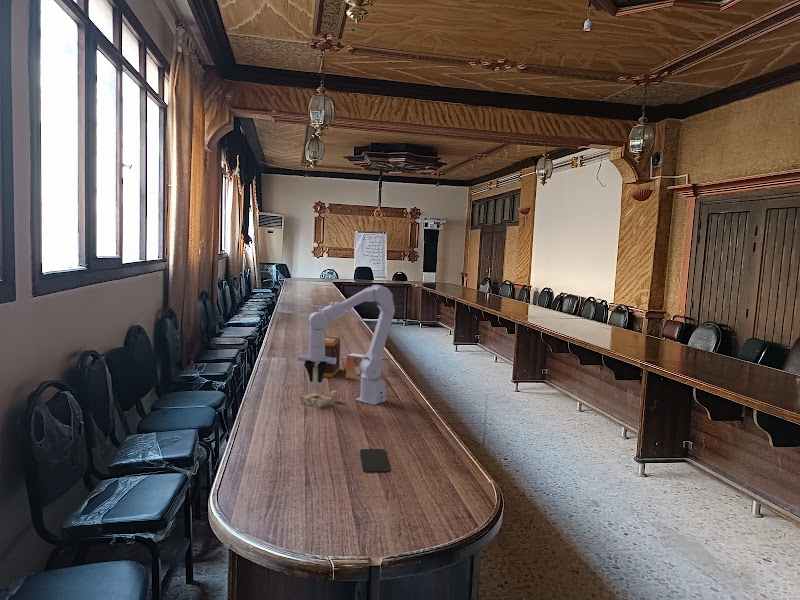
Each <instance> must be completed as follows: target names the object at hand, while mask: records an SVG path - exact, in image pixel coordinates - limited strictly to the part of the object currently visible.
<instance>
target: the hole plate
mask: <svg viewBox="0 0 800 600" xmlns="http://www.w3.org/2000/svg"><path fill="white" fill-rule="evenodd" d="M299 403H301V404H303V405H308V406H310V407H314V408H316V409H322V408H325V407H328V406H331V405H332V402H331V397H328V396H325V395H321V394H318V393H314V392H309V393H306V394H303V395H300V396H299Z"/></svg>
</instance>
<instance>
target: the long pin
mask: <svg viewBox="0 0 800 600" xmlns="http://www.w3.org/2000/svg"><path fill="white" fill-rule="evenodd" d="M311 388H313V389H314V388H315V389H317V388H320V383H319V382H318V366H313V376H312V382H311Z"/></svg>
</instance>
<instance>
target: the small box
mask: <svg viewBox="0 0 800 600" xmlns="http://www.w3.org/2000/svg"><path fill="white" fill-rule="evenodd" d="M364 357H365V354H361V353H355V352H352V353H348V354H346V359H345V360H346V361H345V362H346V363H345V364H346V365H345V366H346V367H345V378H346V379H351V380H356V381H360V382H361V375H362V371H361V370H360V363H361V361H362V360H363V359H364Z"/></svg>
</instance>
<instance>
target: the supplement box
mask: <svg viewBox="0 0 800 600" xmlns="http://www.w3.org/2000/svg"><path fill="white" fill-rule="evenodd" d="M340 355H341V337H340V336H332V335H331V336H328V335H325V354H324V356H326V357H332V358H336V364H331V363H328V365H327V367H326V369H325V372H324V374H323V377H324V378H325V377H327V378H333V377H334V376H335V374H336V373H338V371H340V363H341V362H340V359H341V356H340ZM318 364H319V362H315V365H314V366H318Z"/></svg>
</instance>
